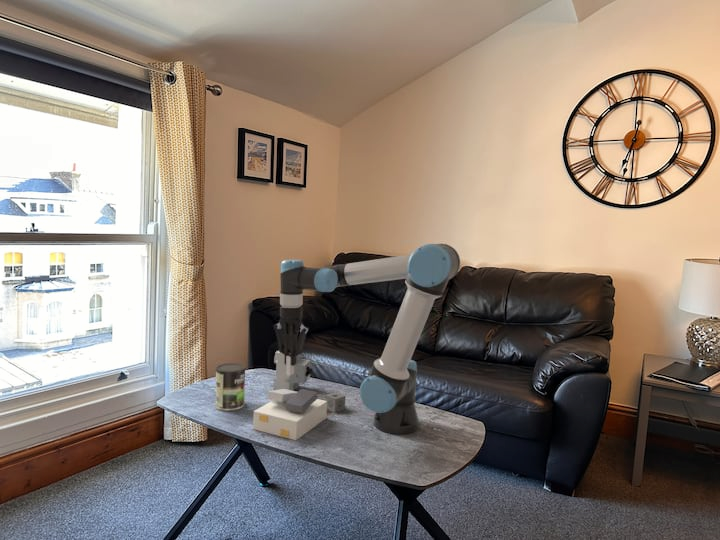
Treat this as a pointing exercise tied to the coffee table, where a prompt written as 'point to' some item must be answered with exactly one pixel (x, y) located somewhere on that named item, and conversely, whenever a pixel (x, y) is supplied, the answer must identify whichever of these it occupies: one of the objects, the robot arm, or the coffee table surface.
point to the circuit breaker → (292, 381)
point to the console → (288, 419)
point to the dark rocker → (301, 401)
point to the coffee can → (230, 386)
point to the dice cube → (335, 402)
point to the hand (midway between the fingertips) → (290, 374)
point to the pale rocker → (280, 395)
